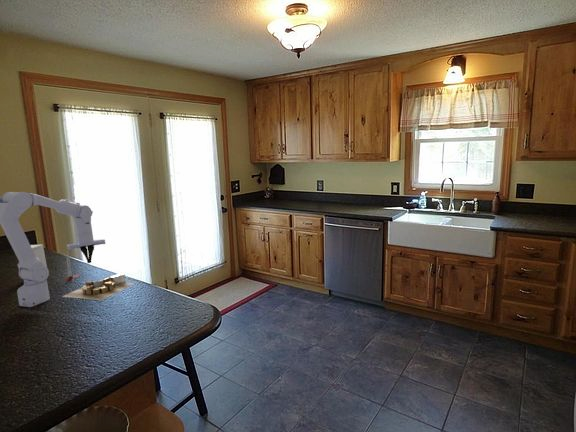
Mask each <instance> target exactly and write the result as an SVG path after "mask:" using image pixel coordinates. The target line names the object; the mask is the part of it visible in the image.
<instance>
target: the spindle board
mask: <svg viewBox="0 0 576 432" xmlns="http://www.w3.org/2000/svg"><path fill="white" fill-rule="evenodd" d="M93 282H94V281H93ZM134 284H135V282H134V283H133V282H123V283H119V284H116V287H115V288H114V289H113V290H111V291H108V292H105V293H100V294H96V295H93V294H92V295H86V294H83V291H82V287H80V288H77V289H76V290H74V291H71V292H69V293H67V294H65V295H62V297H63V298H72V299H73V298H75V299H85V300H93V301H95V300H96V301H103V300H106V299H107V298H109V297H112V296H114V295H115V294H117V293H120V292H122V291H123V290H125V289H127V288H129V287H131V286H133V285H134ZM94 286H95V287H101V286H104V282H103V279H99V280H95V282H94Z"/></svg>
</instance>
